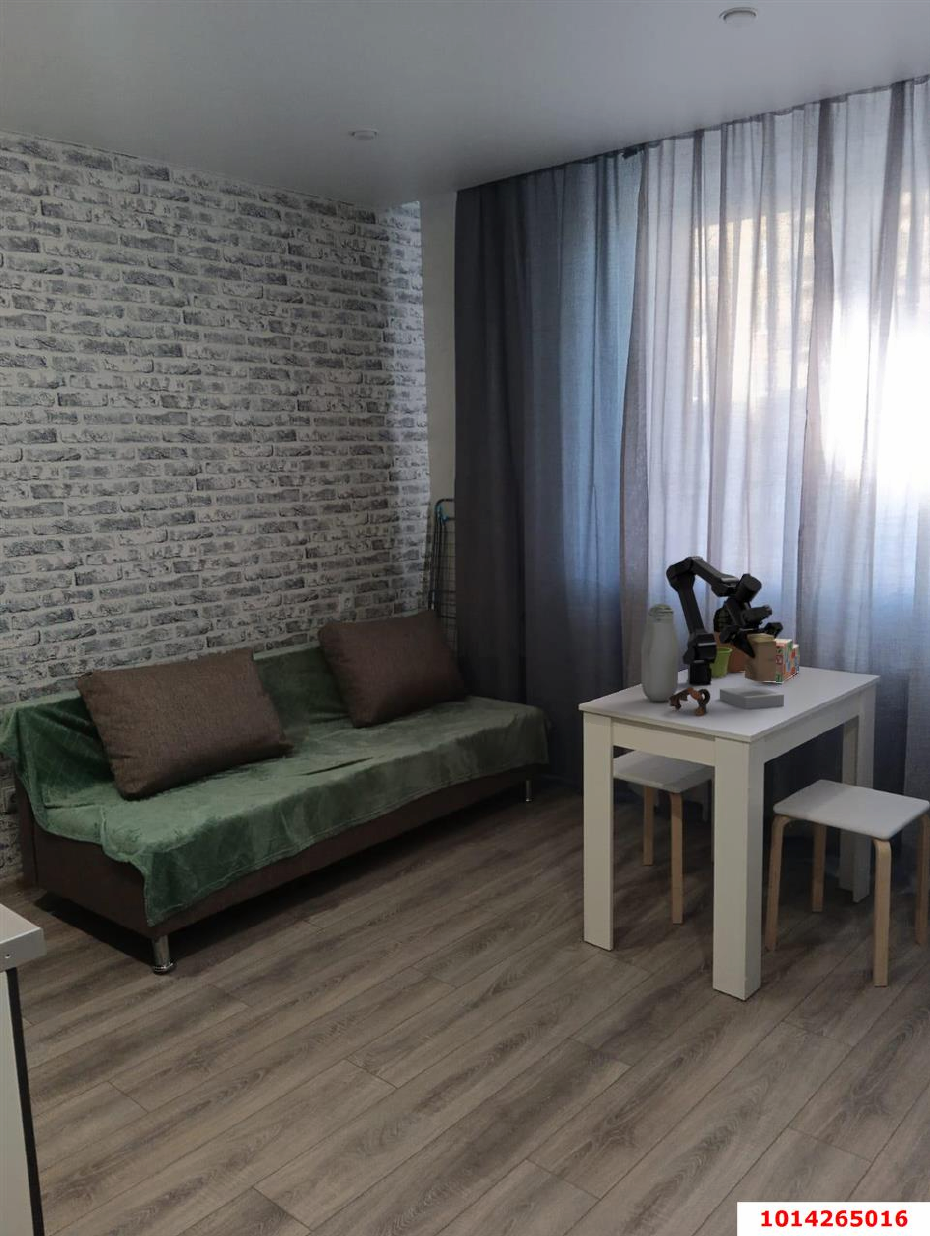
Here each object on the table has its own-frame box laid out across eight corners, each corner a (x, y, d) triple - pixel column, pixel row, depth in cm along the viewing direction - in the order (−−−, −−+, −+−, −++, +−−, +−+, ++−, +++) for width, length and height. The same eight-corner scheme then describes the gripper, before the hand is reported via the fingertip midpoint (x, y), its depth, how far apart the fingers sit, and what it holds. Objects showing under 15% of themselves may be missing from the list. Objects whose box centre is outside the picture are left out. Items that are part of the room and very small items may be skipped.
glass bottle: (666, 705, 294) (667, 607, 291) (635, 701, 301) (635, 604, 297) (684, 700, 302) (685, 603, 298) (653, 695, 309) (653, 601, 305)
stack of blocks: (780, 671, 344) (780, 634, 342) (799, 672, 341) (800, 635, 339) (762, 682, 326) (763, 643, 324) (782, 684, 323) (783, 644, 321)
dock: (719, 699, 302) (719, 687, 302) (756, 695, 306) (756, 684, 305) (745, 708, 289) (745, 697, 289) (783, 705, 292) (784, 694, 292)
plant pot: (736, 677, 334) (736, 650, 333) (708, 679, 332) (708, 652, 331) (724, 672, 343) (724, 646, 342) (696, 673, 341) (697, 647, 340)
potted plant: (727, 664, 356) (728, 591, 353) (763, 669, 346) (764, 594, 343) (704, 670, 347) (705, 595, 344) (740, 675, 337) (741, 598, 334)
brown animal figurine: (692, 720, 279) (677, 692, 280) (673, 729, 287) (659, 702, 288) (724, 703, 285) (709, 676, 286) (704, 712, 293) (690, 686, 294)
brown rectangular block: (744, 677, 299) (745, 634, 297) (762, 676, 301) (763, 633, 299) (757, 681, 293) (758, 637, 291) (775, 679, 295) (776, 636, 293)
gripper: (725, 597, 294) (748, 642, 285) (780, 593, 301) (804, 637, 292) (708, 621, 302) (730, 665, 294) (762, 617, 309) (785, 660, 300)
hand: (763, 656), depth 295 cm, fingers closed on brown rectangular block, 6 cm apart
